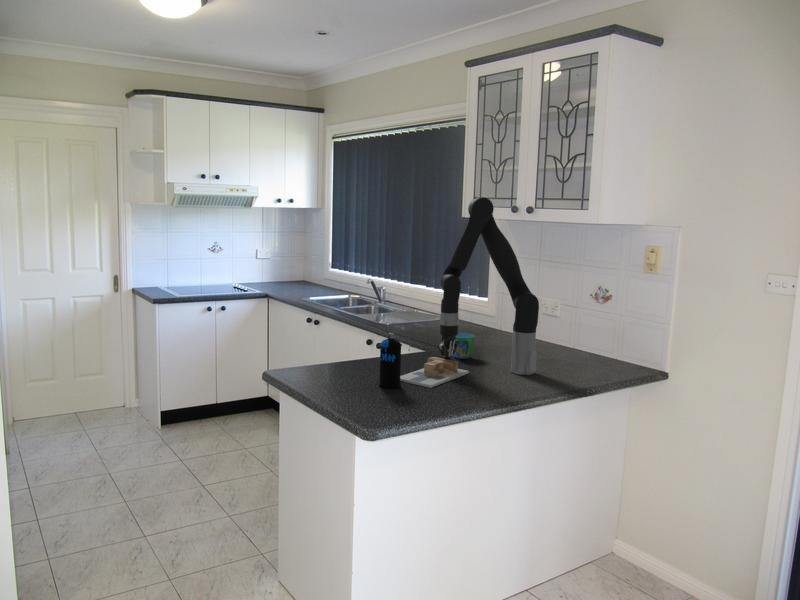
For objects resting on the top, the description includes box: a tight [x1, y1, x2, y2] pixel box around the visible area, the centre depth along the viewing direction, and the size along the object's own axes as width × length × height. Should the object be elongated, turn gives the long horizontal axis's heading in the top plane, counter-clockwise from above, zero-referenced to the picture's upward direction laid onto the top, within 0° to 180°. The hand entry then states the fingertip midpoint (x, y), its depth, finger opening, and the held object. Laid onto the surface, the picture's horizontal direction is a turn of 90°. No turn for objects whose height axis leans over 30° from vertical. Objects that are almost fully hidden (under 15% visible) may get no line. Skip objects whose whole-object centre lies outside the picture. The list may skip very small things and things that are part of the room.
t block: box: [423, 356, 459, 377], centre depth 262 cm, size 12×12×4 cm
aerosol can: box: [378, 332, 403, 390], centre depth 244 cm, size 8×8×20 cm
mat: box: [400, 367, 470, 389], centre depth 261 cm, size 16×28×1 cm, turn 144°
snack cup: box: [452, 332, 476, 360], centre depth 294 cm, size 16×10×10 cm
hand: (447, 365), depth 269 cm, fingers closed
